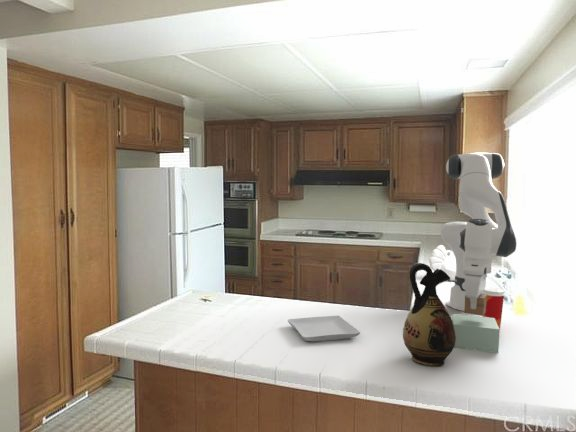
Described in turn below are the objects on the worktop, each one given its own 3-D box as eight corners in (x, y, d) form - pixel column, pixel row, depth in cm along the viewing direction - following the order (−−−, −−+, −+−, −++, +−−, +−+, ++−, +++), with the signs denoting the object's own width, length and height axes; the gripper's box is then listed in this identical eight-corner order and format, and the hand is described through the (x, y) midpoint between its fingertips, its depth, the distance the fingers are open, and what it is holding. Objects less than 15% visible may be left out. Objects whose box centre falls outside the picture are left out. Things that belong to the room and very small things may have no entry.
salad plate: (303, 346, 147) (303, 336, 147) (286, 327, 168) (286, 318, 167) (361, 341, 153) (362, 332, 153) (338, 323, 173) (338, 315, 173)
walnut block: (467, 309, 157) (468, 292, 156) (485, 312, 153) (486, 294, 153) (464, 313, 151) (465, 295, 151) (483, 315, 148) (484, 298, 148)
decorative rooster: (460, 277, 275) (462, 237, 273) (472, 282, 259) (474, 240, 257) (421, 276, 273) (423, 236, 271) (431, 282, 257) (433, 239, 256)
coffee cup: (484, 323, 176) (486, 286, 175) (506, 328, 170) (508, 290, 170) (476, 328, 170) (477, 289, 169) (498, 333, 164) (500, 293, 164)
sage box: (451, 335, 162) (452, 313, 162) (493, 340, 158) (494, 317, 157) (452, 347, 149) (453, 324, 148) (498, 353, 144) (499, 329, 144)
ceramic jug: (442, 351, 144) (446, 260, 142) (463, 370, 129) (467, 268, 127) (391, 351, 144) (394, 259, 142) (405, 370, 128) (409, 267, 126)
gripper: (472, 262, 162) (470, 299, 163) (462, 269, 145) (460, 311, 145) (491, 263, 159) (489, 301, 160) (482, 271, 141) (480, 314, 142)
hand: (475, 306), depth 152 cm, fingers closed on walnut block, 6 cm apart
